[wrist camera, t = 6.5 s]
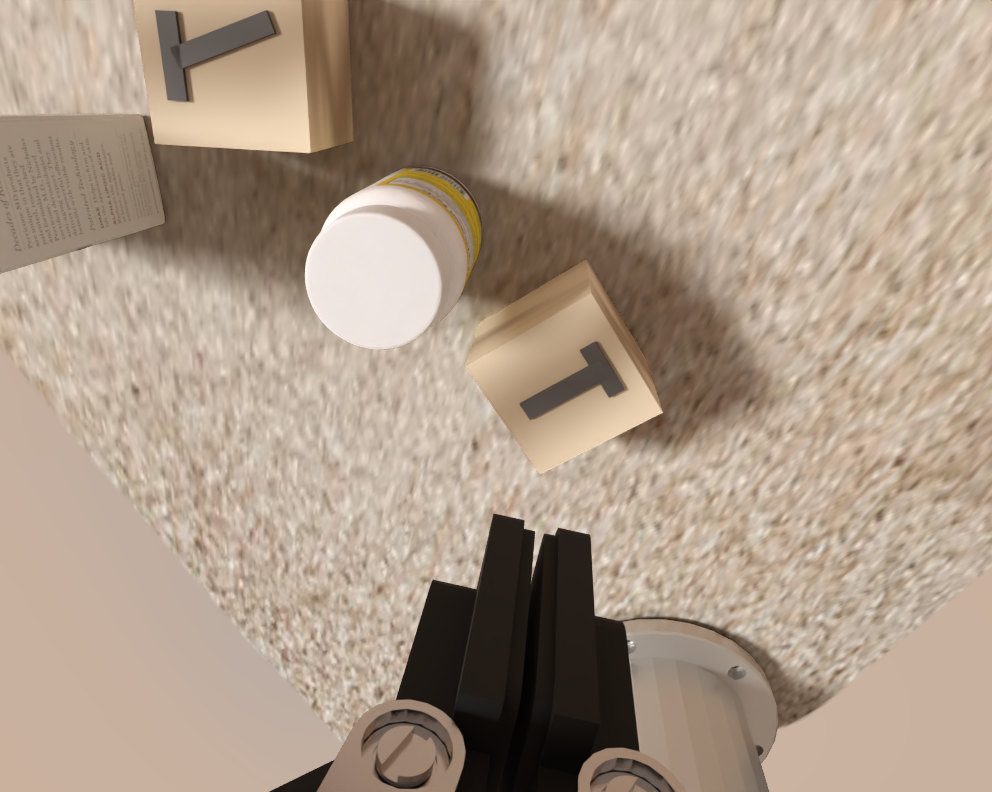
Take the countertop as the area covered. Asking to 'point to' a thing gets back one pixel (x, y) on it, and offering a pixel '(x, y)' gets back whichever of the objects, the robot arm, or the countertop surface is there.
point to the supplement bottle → (394, 257)
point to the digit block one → (563, 369)
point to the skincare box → (73, 184)
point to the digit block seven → (247, 73)
